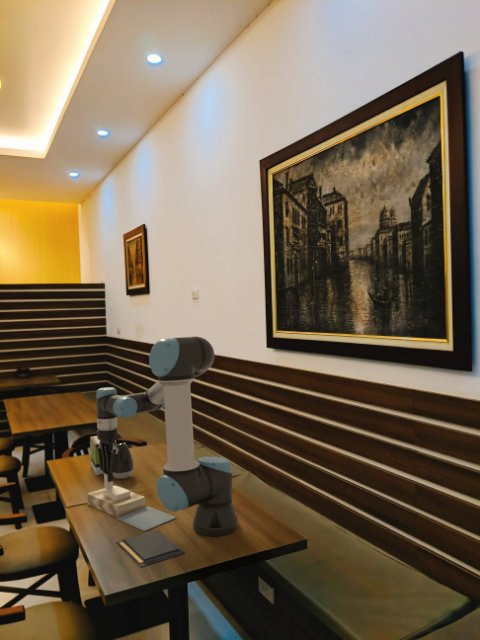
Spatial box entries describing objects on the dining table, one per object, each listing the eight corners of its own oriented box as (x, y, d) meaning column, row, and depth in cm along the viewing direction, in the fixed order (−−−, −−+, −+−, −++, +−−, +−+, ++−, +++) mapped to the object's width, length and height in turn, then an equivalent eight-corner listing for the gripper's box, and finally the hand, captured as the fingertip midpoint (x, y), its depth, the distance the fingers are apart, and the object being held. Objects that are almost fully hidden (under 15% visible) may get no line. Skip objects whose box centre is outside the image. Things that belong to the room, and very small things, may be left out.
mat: (176, 518, 178) (176, 517, 178) (144, 531, 168) (144, 530, 168) (148, 507, 189) (148, 506, 189) (116, 519, 178) (116, 517, 178)
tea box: (90, 466, 240) (89, 435, 239) (111, 463, 244) (111, 433, 244) (95, 476, 226) (94, 443, 226) (117, 472, 230) (117, 440, 230)
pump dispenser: (136, 473, 228) (136, 440, 228) (129, 481, 218) (129, 446, 218) (115, 473, 229) (114, 440, 229) (106, 481, 219) (106, 446, 219)
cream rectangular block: (130, 496, 189) (130, 490, 189) (116, 500, 185) (116, 495, 185) (116, 490, 195) (116, 485, 195) (103, 495, 191) (102, 489, 191)
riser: (145, 507, 188) (144, 497, 188) (117, 517, 179) (117, 506, 179) (114, 495, 202) (114, 485, 202) (87, 504, 193) (87, 493, 193)
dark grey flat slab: (186, 549, 152) (138, 564, 144) (186, 556, 152) (138, 570, 144) (159, 526, 169) (114, 538, 160) (159, 532, 169) (114, 544, 160)
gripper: (89, 427, 195) (90, 488, 195) (108, 432, 186) (110, 496, 186) (106, 424, 200) (107, 483, 201) (125, 428, 192) (126, 490, 192)
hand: (108, 489), depth 194 cm, fingers closed
